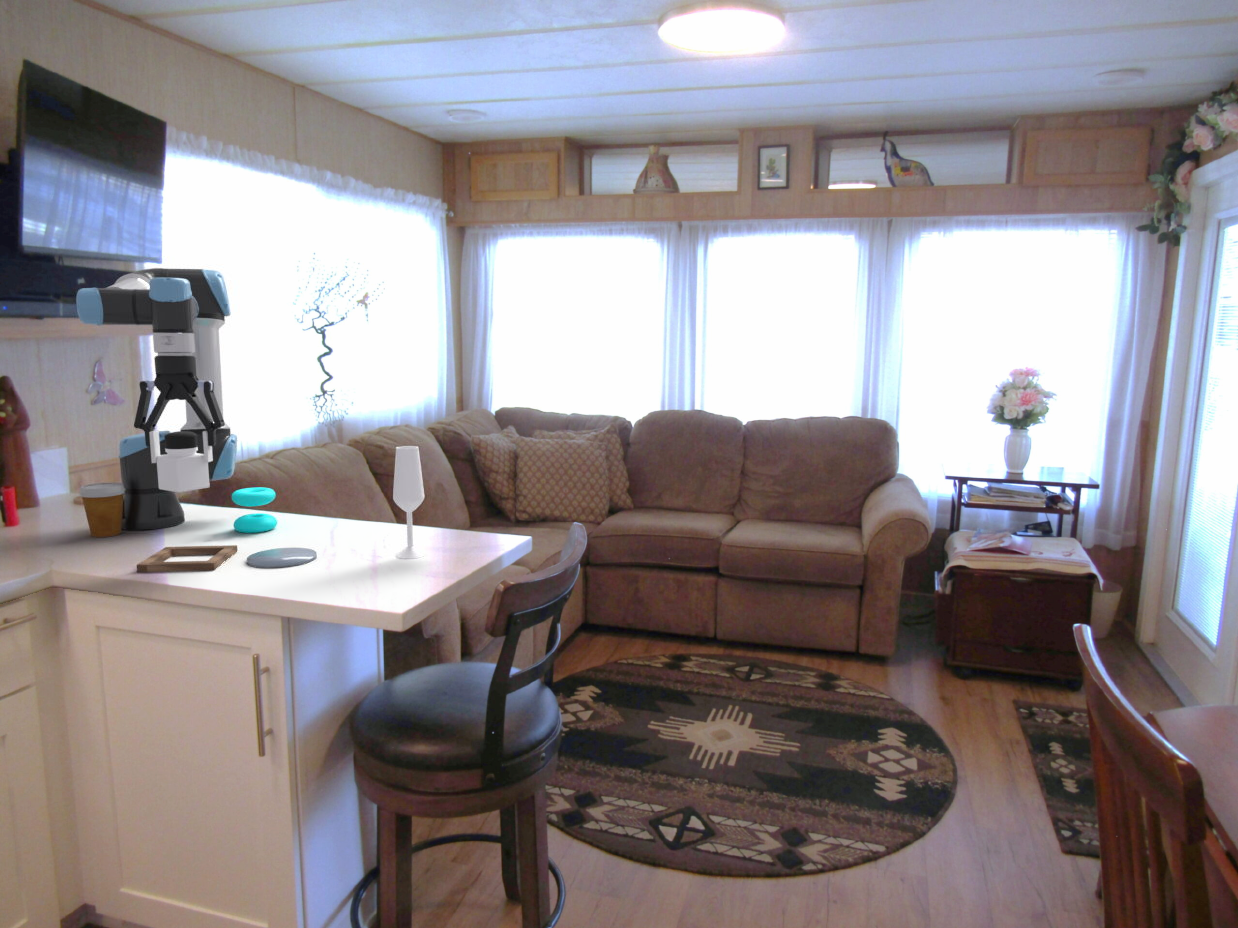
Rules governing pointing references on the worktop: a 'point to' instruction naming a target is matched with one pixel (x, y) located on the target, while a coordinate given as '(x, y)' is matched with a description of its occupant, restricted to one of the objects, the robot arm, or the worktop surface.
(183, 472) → the medicine bottle
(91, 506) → the disposable coffee cup
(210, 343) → the robot arm
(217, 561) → the wooden picture frame
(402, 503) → the champagne flute
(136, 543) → the worktop surface
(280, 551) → the slate plate
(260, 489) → the donuts
